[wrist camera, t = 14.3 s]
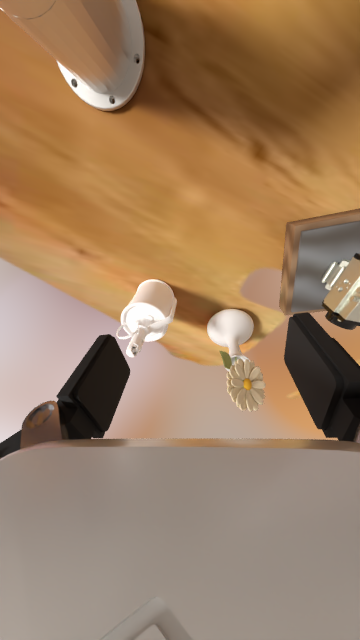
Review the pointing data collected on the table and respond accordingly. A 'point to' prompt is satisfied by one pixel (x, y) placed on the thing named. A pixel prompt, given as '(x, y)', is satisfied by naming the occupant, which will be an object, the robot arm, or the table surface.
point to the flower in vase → (237, 357)
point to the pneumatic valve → (343, 293)
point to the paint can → (148, 314)
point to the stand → (315, 258)
